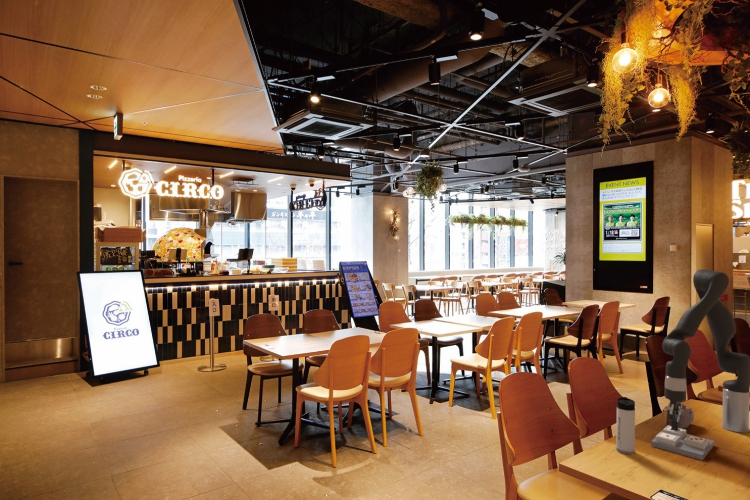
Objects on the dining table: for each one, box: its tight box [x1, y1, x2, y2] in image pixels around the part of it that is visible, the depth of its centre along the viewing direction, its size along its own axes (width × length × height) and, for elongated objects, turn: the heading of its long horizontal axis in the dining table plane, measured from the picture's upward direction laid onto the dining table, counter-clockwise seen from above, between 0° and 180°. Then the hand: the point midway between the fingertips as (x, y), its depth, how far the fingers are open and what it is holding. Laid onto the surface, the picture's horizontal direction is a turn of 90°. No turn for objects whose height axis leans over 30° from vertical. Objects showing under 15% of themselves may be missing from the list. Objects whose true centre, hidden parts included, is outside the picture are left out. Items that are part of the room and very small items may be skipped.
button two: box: [666, 426, 683, 433], centre depth 193 cm, size 5×5×2 cm
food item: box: [665, 403, 695, 429], centre depth 208 cm, size 14×8×10 cm, turn 130°
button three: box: [687, 435, 706, 443], centre depth 183 cm, size 5×5×2 cm
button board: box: [650, 425, 715, 461], centre depth 186 cm, size 19×17×4 cm
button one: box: [659, 433, 677, 440], centre depth 186 cm, size 5×5×2 cm
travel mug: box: [615, 396, 636, 455], centre depth 181 cm, size 6×7×20 cm
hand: (674, 429), depth 192 cm, fingers closed
